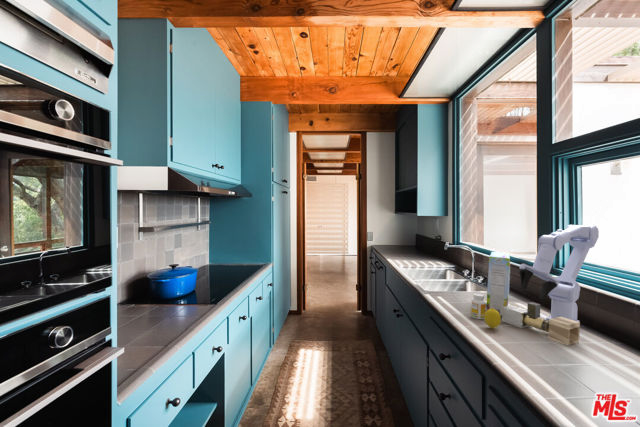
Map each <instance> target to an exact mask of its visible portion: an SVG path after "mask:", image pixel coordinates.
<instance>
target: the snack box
mask: <svg viewBox="0 0 640 427" xmlns="http://www.w3.org/2000/svg"><path fill="white" fill-rule="evenodd" d="M487 273H488V274H487V288H486V309H485V312H486V311H487V310H489V309H492V308H494V309H495V310H497V311H498V312H499V314H500V317H502V313H503V307H505V306H509V298H510V296H509V295H510V280H511V278H510V277H511V255H510V253H508V252H498V251H492V252H490V255H489V256H488V272H487Z"/></svg>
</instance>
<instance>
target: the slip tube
mask: <svg viewBox="0 0 640 427" xmlns="http://www.w3.org/2000/svg"><path fill="white" fill-rule="evenodd" d="M526 305H527V308H526V310H527V314H523V324H525V325H528V326H530V327H531V328H534V329H537V330H541V331H543V332H545V333H549V320H548V319H543V318H541V304H540V303H536V302H533V301H532V302H527V304H526Z"/></svg>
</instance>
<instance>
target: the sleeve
mask: <svg viewBox="0 0 640 427" xmlns="http://www.w3.org/2000/svg"><path fill="white" fill-rule="evenodd" d="M523 314H527V308H523V307H519V306H517V305H508V306H505V307H503V313H502V316H501V319H502V320H501V321H502V322H503V323H507V324H508V325H509V324H510V325H511V326H515V327H517V328H520V329H524V328H528V327H531V326H528V325H525V324H523Z"/></svg>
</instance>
